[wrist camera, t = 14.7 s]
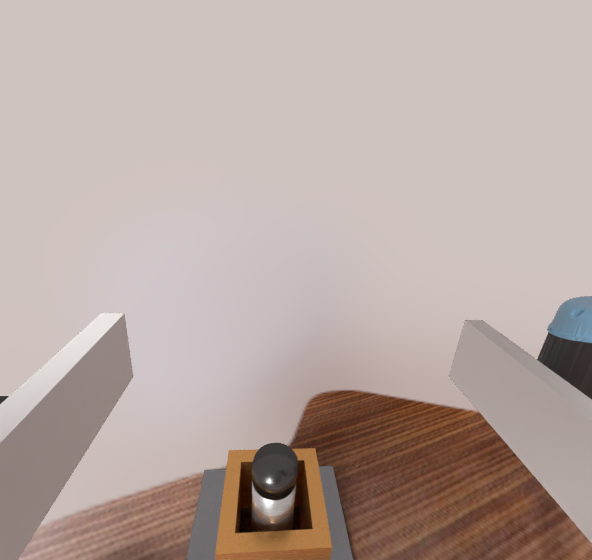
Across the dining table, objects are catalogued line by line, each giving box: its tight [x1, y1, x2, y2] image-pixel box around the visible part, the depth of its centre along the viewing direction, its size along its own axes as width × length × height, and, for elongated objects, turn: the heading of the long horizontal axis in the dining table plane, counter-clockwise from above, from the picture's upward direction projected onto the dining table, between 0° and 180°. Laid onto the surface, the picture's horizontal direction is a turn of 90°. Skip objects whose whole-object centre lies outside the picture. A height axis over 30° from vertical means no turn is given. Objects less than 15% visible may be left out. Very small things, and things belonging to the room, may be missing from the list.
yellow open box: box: [186, 448, 353, 560], centre depth 30 cm, size 16×16×8 cm
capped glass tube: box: [251, 443, 298, 532], centre depth 29 cm, size 4×4×12 cm
